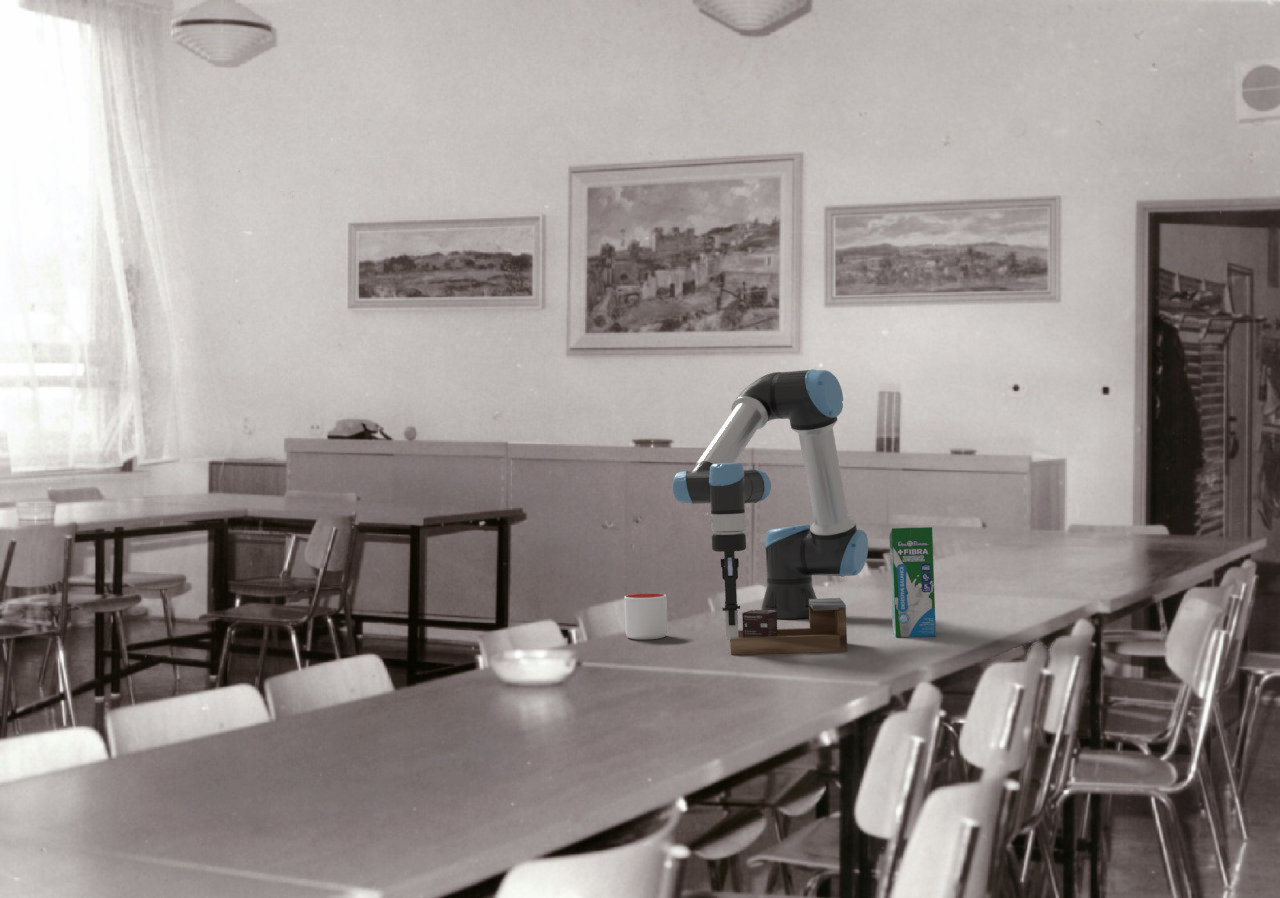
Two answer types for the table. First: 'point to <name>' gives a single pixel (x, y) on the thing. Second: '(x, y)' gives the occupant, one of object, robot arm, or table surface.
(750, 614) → the box
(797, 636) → the channel
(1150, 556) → the table surface
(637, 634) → the cup
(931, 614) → the milk carton
